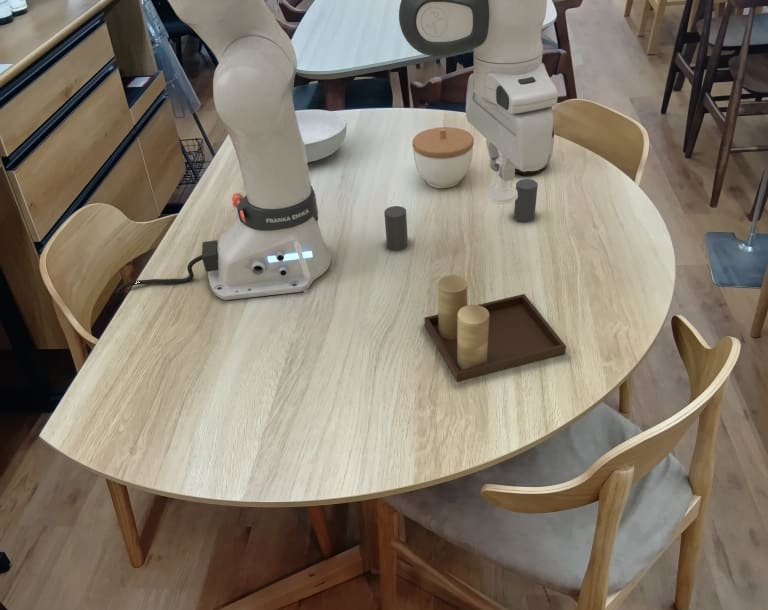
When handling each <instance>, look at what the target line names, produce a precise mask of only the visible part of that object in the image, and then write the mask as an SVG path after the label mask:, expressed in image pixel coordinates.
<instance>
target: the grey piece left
mask: <svg viewBox="0 0 768 610" xmlns="http://www.w3.org/2000/svg"><path fill="white" fill-rule="evenodd" d="M383 213H384V226H385V240H386V248H388V250H391V251H402V250H405V249H406V248H408V246H409V237H408V236H409V235H408V220H407V216H408V215H407V209H406V208H405V207H404V206H400V205H392V206H388V207H387V208H385V209H384V212H383Z"/></svg>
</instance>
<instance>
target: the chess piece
mask: <svg viewBox="0 0 768 610" xmlns="http://www.w3.org/2000/svg"><path fill="white" fill-rule="evenodd" d="M498 152H499V156H500V157H498V158H497V159H496V163H497V164H500V165H499V166H503V162H504V159H503V158H502V155H503V154H502V153H501V152H500V151H499V150H498ZM497 172H498V173H497V177H496V183H494V184H493V185H491V186H489V187H487V188H486V189H485V192H484V198H485V200H486V201H487V202H489V203H492V204H496V205H507V204H511V203H513V202H515V200H516V199H517V198H518V194H517V193H518V192H517V190H516V187H514V186H513V185H510V184H509V183H508V181H503V180H502V179H501V178H500V176H499V173H500V172H499V171H497Z"/></svg>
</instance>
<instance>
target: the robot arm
mask: <svg viewBox="0 0 768 610" xmlns="http://www.w3.org/2000/svg"><path fill="white" fill-rule="evenodd" d="M167 2H168V3H169V5H170V7H171V8H172V10H173V11H174V13H175V15H176V16H177V17H178V18H179V20H180V21H181V22H183V23H184V24H185V25H188V26H189V27H190V28H191V29H192V30H193V31H194V32H195V34H196V35H197V36H198V37H199V38H200V39H201V40H202V41H203V42H204V43H205V44H206V46H207V47H208V49H209V50H210V51H211V52H212V53H213V56H215V58H216V60H217V62H218V63H217V65H216V68H215V69H214V72H213V73H214V74H213V78H212V98H213V103H214V107H215V110H216V112H217V114H218V116H219V117H220V119H221V120H222V121H223V124H224V126H225V129H226V131H227V133H228V136H229V138H230V141H231V143H232V145H233V149H234V151H235V155H236V158H237V161H238V165H239V170H240V174H241V178H242V182H243V187H244V190H245V191H244V192H245V196H243V194H241V193H240V192H235V193H233V194H232V196H231V202H232V205H233V206H234V208H236V210H237V216H238V219H237V220H235V222H234V223H233V224H232V225H231V226H229V228H227V230H226V231H225V232H223V234H221V235H220V237H219V239H218V240H217V239H215V240H208V241H203V242H202V245H201V248H202V249H201V254H200V255H199V256H197V257H195V258H193V259H191V260H190V261H189V262H188V263H187V267H186V269H187V272H188V276H187V277H185V278H151V279H137V280H129V281H127V282H124V283H123V284H121V285H120V286H119V287H118V288H117V289H116V291H115V293H116V294H120V293H122V292H123V291H124V290H125V289H126V288H128V287H131V286H138V285H152V284H186V283H189V282H191V280H193V279H194V277H195V276H194V271H193V266H194V265H195V264H196V263H199V262H201V261H202V262H203V266H204V269H205V272H206V273H207V277H208V283H209V287H210V289H211V291H212V292H213V294H214V295H215V296H216V297H218V298H219V299H221V300H224V301H229V300H230V301H231V300H239V299H247V298H248V299H249V298H257V297H258V298H259V297H267V296H275V295H285V294H293V293H301V292H304V291H307V290H309V288H310V287H311V285H312V284H313V283H314V281H316V280H317V279H318V278H319V277H321V276H322V275H324V274H325V273H326V272H327V271H328V270H329V267H330V266H331V263H332V257H331V254H330V252H329V250H328V248H327V246H326V243H325V242H324V239H323V235H322V231H321V229H320V226H319V222H318V221H319V210H318V202H317V195H316V193H315V190H314V188H313V185H312V184H311V177H310V171H309V164H308V162H307V157H306V150H305V144H304V142H303V140H302V137H301V134H300V130H299V126H298V122H297V118H296V114H295V111H296V110H295V104H294V83H295V78H296V74H297V69H298V61H297V55H296V51H295V47H294V45H293V42H292V41H291V39H290V38H291V37H290V36H289V35H288V34H287V32H286V31H285V30H284V29H283V28H282V26H281V25H280V23H279V22H278V20H277V19H276V17H275V16H274V15H273V13H272V11H271V10H270V8H269V7H268V6H267V4H266V2H264V0H167ZM547 3H548V0H401V1H400V4H399V9H398V21H399V27H400V29H401V33H402V35H403V37H404V38H405V40H406V42H407V43H408V45H410V46H411V48H413V49H414V51H417V52H419V53H421V54H422V55H425V56H429V57H441V56H448V55H454V54H459V53H463V52H467V51H470V50H473V67H472V68H473V69H472V70H473V71H472V73H471V74H470V75H469V77H468V79H467V85H466V95H465V96H466V98H465V115H466V120H467V123H469V124H470V125H471V127H473V128H474V129H475V130H476V131H478V133H479V134H481V136H483V137H484V138H485V139H486V140H485V142H486V143H485V144H486V149H487V153H488V156H489V165H488V166H489V168H490V169H491V170H492V171H493V172H500V173H499V176H500V178H501V179H502V180H503V181H507V182H510V181H512V180H514V179H515V175H516V173H515V168H516V167H517V168H518V169H519V170H521V171H523V172H524V171H530V170H535V169H539V168H542V167H544V166H545V164H546V163H547V161H548V159H549V154H550V148H551V140H552V130H554V115H553V111H552V109H551V107H554V106H556V105H557V104H558V98H559V91H558V88H557V87H556V85H555V84H554V82H553V81H552V79H551V77H550V76H549V73H548V72H547V68H546V65H545V64H544V62H543V51H544V46H543V42H542V41H543V40H542V29H543V25H544V21H545V19H546V14H547ZM498 150H499V151H500V152H501V153H502V154H503V155H502V158H503V159H504V162H503V166H499V165H500V164H497V163H496V159H497V158H498V157H500V156H499V152H498ZM136 281H137V282H138V281H139V282H140V283H137V284H135V283H136Z"/></svg>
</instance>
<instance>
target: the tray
mask: <svg viewBox="0 0 768 610" xmlns="http://www.w3.org/2000/svg"><path fill="white" fill-rule="evenodd" d="M478 305H479V306H482V307H484V308H486V309H487V310H488V312H489V331H488V350H487V364H484V365H480V366H476V367H472V368H468V369H464V370H461V369H460V368H459V367H458V365H457V340H448V339H445V338H443V337H441V336H440V334H439V332H438V313H437V314H435V315H429V316H425V317H423V322H424V327H425V329H426V331H427V332H428V334H429V336H430V338H431V340H432V342H433V343H434V345H435V346H436V348H437V350H438V352H439V353H440V356H441V357H442V359H443V361H444V362H445V364H446V366H447V367H448V370H449V371H450V372H451V374H452V376H453V378H454V380H455V381H456V382H457V383H458V382H462V381H466V380H470V379H474V378H478V377H481V376H486V375H489V374H494V373H497V372H501V371H505V370H508V369H513V368H516V367H520V366H525V365H528V364H532V363H536V362H539V361H544V360H547V359H551V358H555V357H560V356H564V355H566V351H567V345H566V344H565V342H563V340H562V339H561V338H560V336H559V335H558V334H557V333H556V331H555V330H554V329H553V328H552V327H551V325H550V324H549V322H548V321H547V320H546V318H544V316H543V315H542V314H541V313H540V311H539V310H538V309H537V308H536V306H535V305H534V304H533V303H532V301H531V300H530V299H529V297H527V295H526V294H525V293H523V294H522V293H521V294H517V295H513V296H509V297H506V298H505V297H504V298H500V299H497V300H493V301H489V302H484V303H480V304H478Z"/></svg>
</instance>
